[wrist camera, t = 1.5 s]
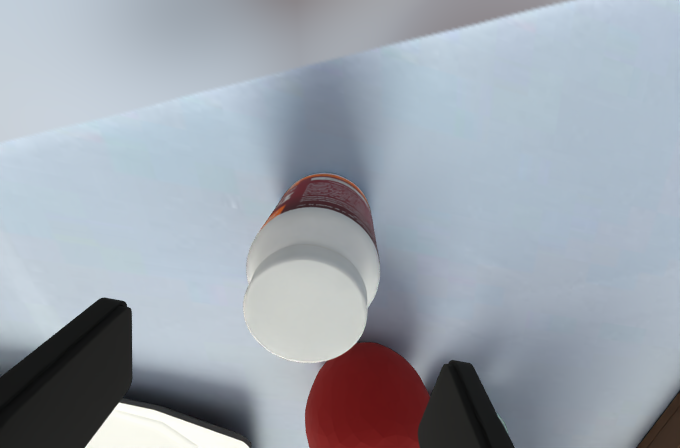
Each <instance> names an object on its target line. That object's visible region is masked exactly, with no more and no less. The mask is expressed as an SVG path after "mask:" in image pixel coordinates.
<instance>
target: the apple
mask: <svg viewBox="0 0 680 448" xmlns="http://www.w3.org/2000/svg"><path fill="white" fill-rule="evenodd" d="M429 399H430V396H429V393H428V391H427V389H426V388H425V386H424V384H423V382H422V380H421V378H420V376H419V375H418V373H417V372H416V371H415V369H414V368H413V367H412V366H411V365H410V364H409V363H408V362H407V361H406V360H405V359H404V358H403V357H402V356H400V355H399V354H397V353H396V352H394V351H393V350H391V349H390V348H387V347H385V346H383V345H380V344H378V343H373V342H362V343H356V344H355V345H354V346H353V347H351V348H350V349H349V350H348V351H346V352H345V353H343V354H342V355H340V356H338V357H336V358H333V359H330V360H328V361H327V362H326V363H325V364H324V366H323V367H322V368H321V369H320V371H319V373H318V375H317V377H316V379H315V381H314V383H313V385H312V388H311V391H310V394H309V396H308V400H307V405H306V410H305V427H306V435H307V439H308V443H309V448H420V446H419V441H418V427H419V424H420V422H421V419H422V417H423V414H424V412H425V409H426V407H427V404H428V402H429Z"/></svg>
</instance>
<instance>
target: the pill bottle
mask: <svg viewBox="0 0 680 448" xmlns="http://www.w3.org/2000/svg"><path fill="white" fill-rule="evenodd" d="M246 273H247V280H248V284H249V285H248V287H247V290H246V293H245V296H244V302H243V312H244V318H245V321H246V324H247V327H248V329H249V331H250V332H251V334H252V335H253V337H254V338H255V339H256V340H257V342H258V343H259V344H260V345H262V346H263V347H264V348H265V349H267V350H268V351H270V352H271V353H273V354H275V355H277V356H279V357H281V358H284V359H287V360H290V361H295V362H301V363H316V362H322V361H327V360H330V359H333V358H336V357H338V356H340V355H342V354H343V353H345V352H346V351H348V350H349V349H350V348H351V347H353V346H354V345H355V344H356V342H357V341H358V340H359V338H360V337H361V335H362V333H363V331H364V328H365V325H366V321H367V308H368V307H369V305H370V304H371V302H372V301H373V299H374V297H375V295H376V292H377V289H378V286H379V281H380V261H379V255H378V250H377V245H376V239H375V233H374V227H373V221H372V216H371V211H370V207H369V204H368V202H367V199H366V197H365V196H364V194H363V192H362V191H361V190H360V189H359V188H358V187H357V186H356V185H355V184H354V183H353V182H351V181H350V180H348V179H346V178H344V177H342V176H339V175H336V174H331V173H317V174H312V175H309V176H306V177H304V178H302V179H300V180H298V181H297V182H296V183H294V184H293V185H292V186H291V187H290V188H289V189H288V190H287V192H286V193H285V194H284V196H283V197H282V199H281V200H280V202H279V203H278V205H277V206H276V208H275V209H274V211H273V212H272V214H271V215H270V217H269V218H268V220H267V221H266V222H265V224H264V225H263V227H262V228H261V230H260V231H259V233H258V234H257V236H256V237H255V239H254V241H253V242H252V245H251V247H250V249H249V253H248V257H247V263H246Z"/></svg>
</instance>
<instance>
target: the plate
mask: <svg viewBox="0 0 680 448" xmlns="http://www.w3.org/2000/svg"><path fill="white" fill-rule="evenodd" d="M85 448H251V442H249V441H248V440H247V439H246V438H245V437H244V436H242V435H240V434H238V433H236V432H233V431H231V430H228V429H225V428H222V427H219V426H216V425H214V424H211V423H208V422H205V421H202V420H199V419H197V418H194V417H191V416H188V415H185V414H182V413H180V412H177V411H174V410H171V409H168V408H165V407H163V406H160V405H155V404H150V403H145V402H140V401H135V400H130V399H125V398H122V399H121V401H120V402H119V403H118V405H117V406H116V407H115V409H114V410H113V411H112V413H111V414H110V415H109V416H108V418H107V419H106V420H105V422H104V423H103V424H102V426H101V427H100V428H99V430H98V431H97V432H96V434H95V435H94V436H93V438H92V439H91V440H90V442H89V443H88V444H87V446H86V447H85Z"/></svg>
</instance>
